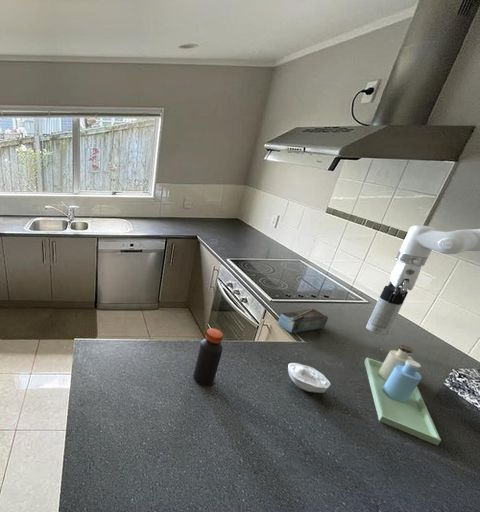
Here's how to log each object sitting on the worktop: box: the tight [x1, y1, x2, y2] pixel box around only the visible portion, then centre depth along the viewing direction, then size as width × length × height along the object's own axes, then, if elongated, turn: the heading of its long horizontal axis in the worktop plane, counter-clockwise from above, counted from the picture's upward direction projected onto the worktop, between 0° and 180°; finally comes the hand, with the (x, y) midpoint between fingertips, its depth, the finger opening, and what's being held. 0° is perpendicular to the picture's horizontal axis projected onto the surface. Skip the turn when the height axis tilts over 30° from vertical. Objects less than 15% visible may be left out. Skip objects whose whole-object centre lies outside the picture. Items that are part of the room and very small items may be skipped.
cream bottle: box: [378, 344, 415, 381], centre depth 98 cm, size 6×6×14 cm
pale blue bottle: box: [382, 359, 423, 402], centre depth 91 cm, size 6×6×14 cm
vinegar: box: [193, 327, 224, 387], centre depth 94 cm, size 7×7×20 cm
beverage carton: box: [277, 308, 329, 334], centre depth 128 cm, size 8×19×7 cm, turn 103°
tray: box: [363, 357, 442, 446], centre depth 93 cm, size 12×31×3 cm, turn 144°
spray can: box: [366, 285, 409, 336], centre depth 113 cm, size 7×7×20 cm
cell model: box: [287, 362, 331, 393], centre depth 95 cm, size 10×12×7 cm
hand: (391, 299), depth 111 cm, fingers closed on spray can, 6 cm apart
